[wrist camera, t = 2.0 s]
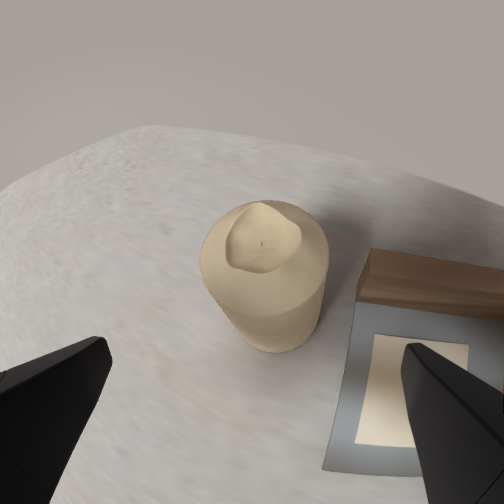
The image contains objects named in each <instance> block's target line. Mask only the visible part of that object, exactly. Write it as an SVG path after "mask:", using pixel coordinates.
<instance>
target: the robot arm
mask: <svg viewBox="0 0 504 504" xmlns="http://www.w3.org/2000/svg"><path fill="white" fill-rule="evenodd" d="M111 367H112V356H111V353H110V350H109V347H108V344H107V341H106V339H105V338H103V337H97V336H92V337H90V338H87V339H85V340H82V341H80V342H77V343H75V344H72V345H70V346H67V347H65V348H62V349H59V350H57V351H54V352H52V353H49V354H47V355H44V356H42V357H39V358H37V359H34V360H31V361H29V362H26V363H24V364H21V365H18V366H16V367H13V368H11V369H8V370H7V371H6V370H5V371H3V372H0V504H49V503H50V501H51V498H52V496H53V494H54V491H55V489H56V487H57V485H58V482H59V480H60V478H61V476H62V474H63V471H64V469H65V467H66V465H67V463H68V461H69V459H70V456H71V454H72V452H73V450H74V448H75V446H76V444H77V442H78V440H79V438H80V436H81V434H82V432H83V430H84V428H85V426H86V424H87V422H88V420H89V418H90V416H91V414H92V412H93V410H94V408H95V406H96V404H97V402H98V399H99V397H100V394H101V392H102V389H103V387H104V384H105V382H106V379H107V377H108V374H109V372H110V369H111ZM400 372H401V379H402V385H403V391H404V396H405V403H406V409H407V415H408V420H409V424H410V427H411V431H412V435H413V439H414V442H415V446H416V450H417V454H418V458H419V462H420V466H421V471H422V475H423V479H424V484H425V488H426V493H427V498H428V503H429V504H504V395H503V393H502V392H501V391H499V390H497V389H496V388H494V387H493V386H491V385H489V384H488V383H486V382H484V381H483V380H481V379H480V378H478V377H476V376H475V375H473V374H471V373H470V372H468V371H467V370H465V369H463V368H462V367H460V366H458V365H457V364H455V363H453V362H452V361H450V360H448V359H447V358H445V357H444V356H442V355H440V354H439V353H437V352H435V351H434V350H432V349H430V348H429V347H427V346H425V345H424V344H422V343H420V342H416V343H408V344H407V345H406V346H405V350H404V354H403V359H402V364H401V369H400Z"/></svg>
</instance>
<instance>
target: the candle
mask: <svg viewBox="0 0 504 504" xmlns="http://www.w3.org/2000/svg"><path fill="white" fill-rule="evenodd" d="M329 259H330V254H329V245H328V241H327V238H326V235H325V233H324V231H323V230H322V228H321V226H320V225H319V224H318V222H317V221H316V220H315V219H314V218H313V217H312V216H311V215H310V214H308V213H307V212H306V211H304V210H302V209H301V208H299V207H297V206H294V205H292V204H289V203H286V202H281V201H273V200H263V201H255V202H251V203H247V204H244V205H241V206H239V207H237V208H235V209H233V210H231V211H229V212H228V213H226V214H225V215H224V216H222V217H221V218H220V219H219V220H218V221H217V222H216V223H215V224H214V225H213V227H212V228H211V229H210V231H209V232H208V234H207V235H206V238H205V240H204V242H203V245H202V248H201V253H200V271H201V275H202V279H203V281H204V283H205V286H206V287H207V289H208V290H209V292H210V294H211V295H212V296H213V298H214V299H215V301H216V302H217V303H218V305H219V306H220V307H221V309H222V310H223V312H224V313H225V314H226V316H227V317H228V318H229V320H230V321H231V322H232V324H233V325H234V326H235V328H236V329H237V330H238V332H239V333H240V334H241V336H242V337H243V338H244V339H245V340H246V341H247V342H248V343H249V344H250V345H252V346H253V347H255V348H257V349H259V350H262V351H265V352H271V353H282V352H287V351H290V350H293V349H295V348H297V347H299V346H300V345H302V344H303V343H304V342H305V341H306V340H308V338H309V337H310V336H311V335H312V333H313V332H314V330H315V328H316V325H317V322H318V319H319V315H320V310H321V305H322V300H323V295H324V289H325V284H326V278H327V273H328V267H329Z"/></svg>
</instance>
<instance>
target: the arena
mask: <svg viewBox="0 0 504 504" xmlns="http://www.w3.org/2000/svg"><path fill="white" fill-rule="evenodd" d="M416 342H420V343H422V344H424V345H425V346H427V347H429V348H430V349H432V350H434V351H435V352H437V353H439V354H440V355H442V356H444V357H445V358H447V359H448V360H450V361H452V362H453V363H455V364H457V365H458V366H460V367H462V368H463V369H465V370H467V371H468V372H470V373H471V374H473V375H475V376H476V377H478V378H480V379H481V380H483V381H484V382H486V383H488V384H489V385H491V386H493V387H494V388H496V389H497V390H499V391H501V392H502V393H503V395H504V271H502V270H497V269H491V268H486V267H480V266H475V265H469V264H463V263H458V262H452V261H446V260H440V259H434V258H428V257H422V256H416V255H410V254H404V253H398V252H392V251H386V250H379V249H373V248H371V251H370V253H369V256H368V259H367V261H366V264H365V266H364V269H363V271H362V274H361V276H360V279H359V281H358V284H357V292H356V300H355V308H354V315H353V322H352V329H351V335H350V341H349V348H348V353H347V359H346V365H345V370H344V375H343V381H342V386H341V391H340V396H339V400H338V405H337V410H336V414H335V418H334V423H333V427H332V431H331V435H330V439H329V443H328V447H327V451H326V455H325V459H324V462H323V466H322V470H325V471H332V472H341V473H350V474H362V475H376V476H399V477H423V475H422V471H421V466H420V462H419V458H418V454H417V450H416V446H415V442H414V439H413V435H412V431H411V427H410V424H409V420H408V415H407V409H406V403H405V396H404V391H403V385H402V379H401V372H400V369H401V364H402V359H403V354H404V350H405V346H406V345H407V344H408V343H416Z"/></svg>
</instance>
